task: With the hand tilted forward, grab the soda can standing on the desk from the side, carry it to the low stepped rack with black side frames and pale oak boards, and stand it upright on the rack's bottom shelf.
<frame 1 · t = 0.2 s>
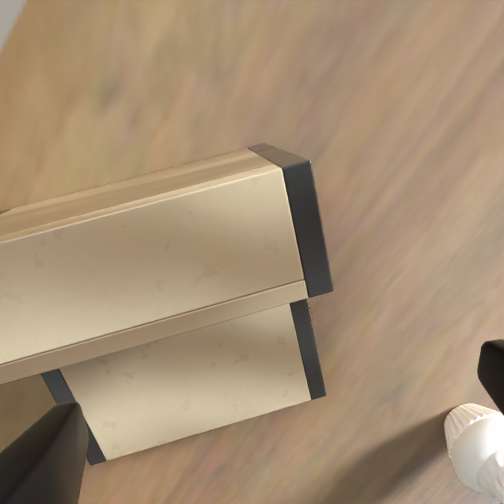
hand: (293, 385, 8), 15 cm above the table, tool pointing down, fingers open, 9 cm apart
shelf: (187, 337, 24), on the table
muffin: (460, 417, 30), on the table
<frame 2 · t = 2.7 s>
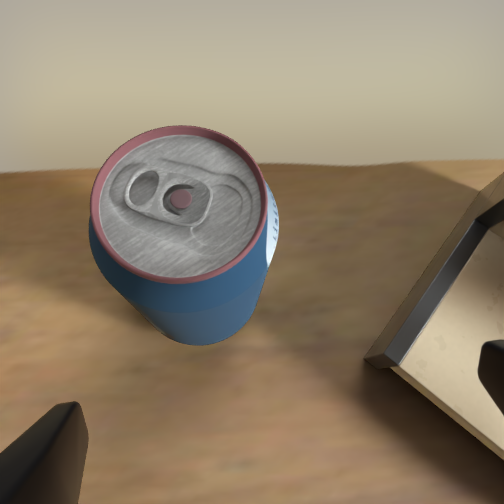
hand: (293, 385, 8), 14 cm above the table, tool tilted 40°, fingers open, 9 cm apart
soda can: (202, 291, 24), on the table
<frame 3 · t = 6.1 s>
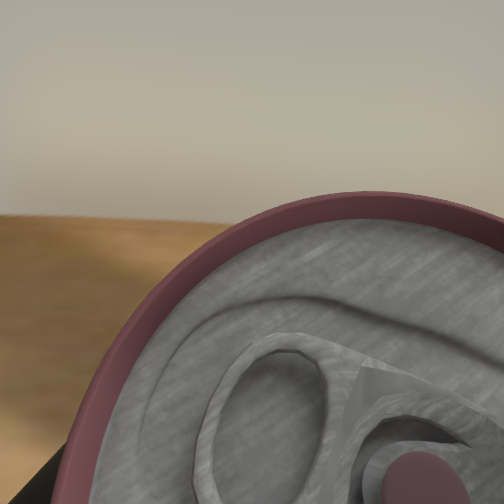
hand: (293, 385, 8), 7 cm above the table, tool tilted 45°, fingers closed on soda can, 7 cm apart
soda can: (271, 445, 14), on the table, touching gripper
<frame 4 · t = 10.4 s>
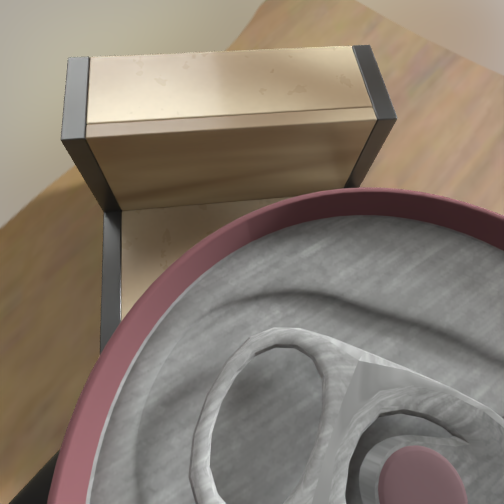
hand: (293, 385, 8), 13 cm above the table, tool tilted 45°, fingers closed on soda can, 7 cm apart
shelf: (244, 305, 23), on the table
soda can: (270, 443, 14), point 6 cm above the table, touching gripper
when the fingers open (10 cm above the table, at t = 13.3 s): soda can stays where it is, resting on shelf.
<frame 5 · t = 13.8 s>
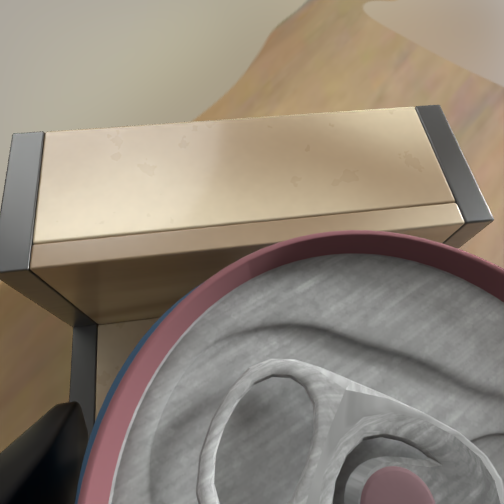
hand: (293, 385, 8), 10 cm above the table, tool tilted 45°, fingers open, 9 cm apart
shelf: (264, 443, 17), on the table
soda can: (270, 449, 14), point 3 cm above the table, touching shelf
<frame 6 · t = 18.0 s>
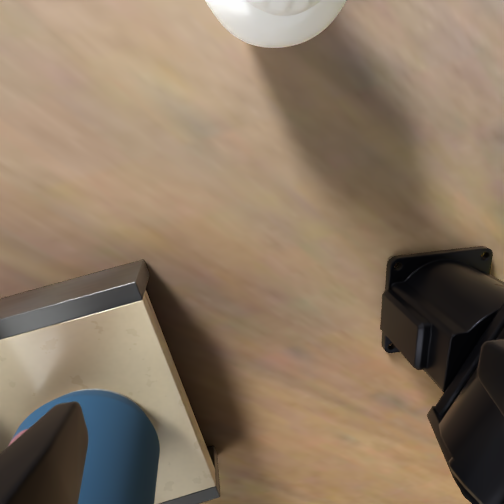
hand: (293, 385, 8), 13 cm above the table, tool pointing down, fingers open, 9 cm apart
shelf: (104, 392, 23), on the table
soda can: (95, 428, 20), point 3 cm above the table, touching shelf
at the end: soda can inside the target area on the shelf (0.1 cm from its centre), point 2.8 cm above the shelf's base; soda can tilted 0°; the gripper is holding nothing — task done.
